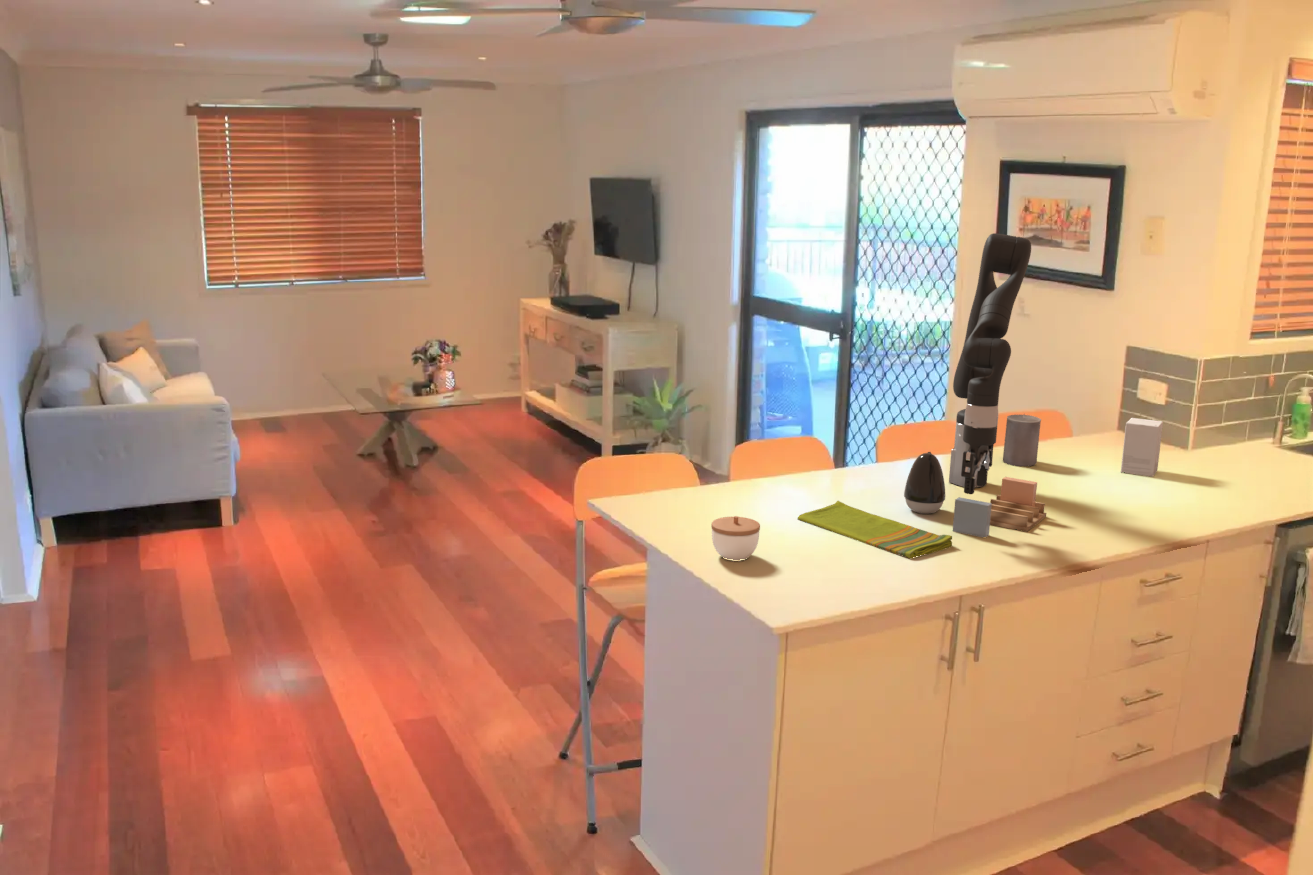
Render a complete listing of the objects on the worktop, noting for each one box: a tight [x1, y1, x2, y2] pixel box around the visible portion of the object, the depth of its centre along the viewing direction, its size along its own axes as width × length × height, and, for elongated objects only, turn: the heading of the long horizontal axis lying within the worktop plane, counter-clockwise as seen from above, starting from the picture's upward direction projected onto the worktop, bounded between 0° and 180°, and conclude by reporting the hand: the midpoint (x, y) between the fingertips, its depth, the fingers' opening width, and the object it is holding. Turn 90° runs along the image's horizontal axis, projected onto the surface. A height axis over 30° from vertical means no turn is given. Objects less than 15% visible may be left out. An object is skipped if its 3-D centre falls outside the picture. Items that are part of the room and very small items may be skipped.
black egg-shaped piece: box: [903, 451, 946, 515], centre depth 276 cm, size 10×10×15 cm
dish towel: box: [797, 500, 953, 559], centre depth 261 cm, size 15×36×3 cm, turn 38°
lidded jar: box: [711, 515, 761, 560], centre depth 242 cm, size 11×11×9 cm
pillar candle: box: [1002, 413, 1042, 467], centre depth 325 cm, size 10×10×15 cm
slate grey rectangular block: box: [952, 496, 992, 538], centre depth 260 cm, size 8×2×8 cm, turn 54°
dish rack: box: [989, 494, 1047, 533], centre depth 272 cm, size 13×15×4 cm
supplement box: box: [1120, 417, 1164, 478], centre depth 317 cm, size 9×9×15 cm
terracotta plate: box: [1000, 476, 1038, 507], centre depth 275 cm, size 8×2×8 cm, turn 54°
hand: (975, 489), depth 259 cm, fingers open, 8 cm apart
